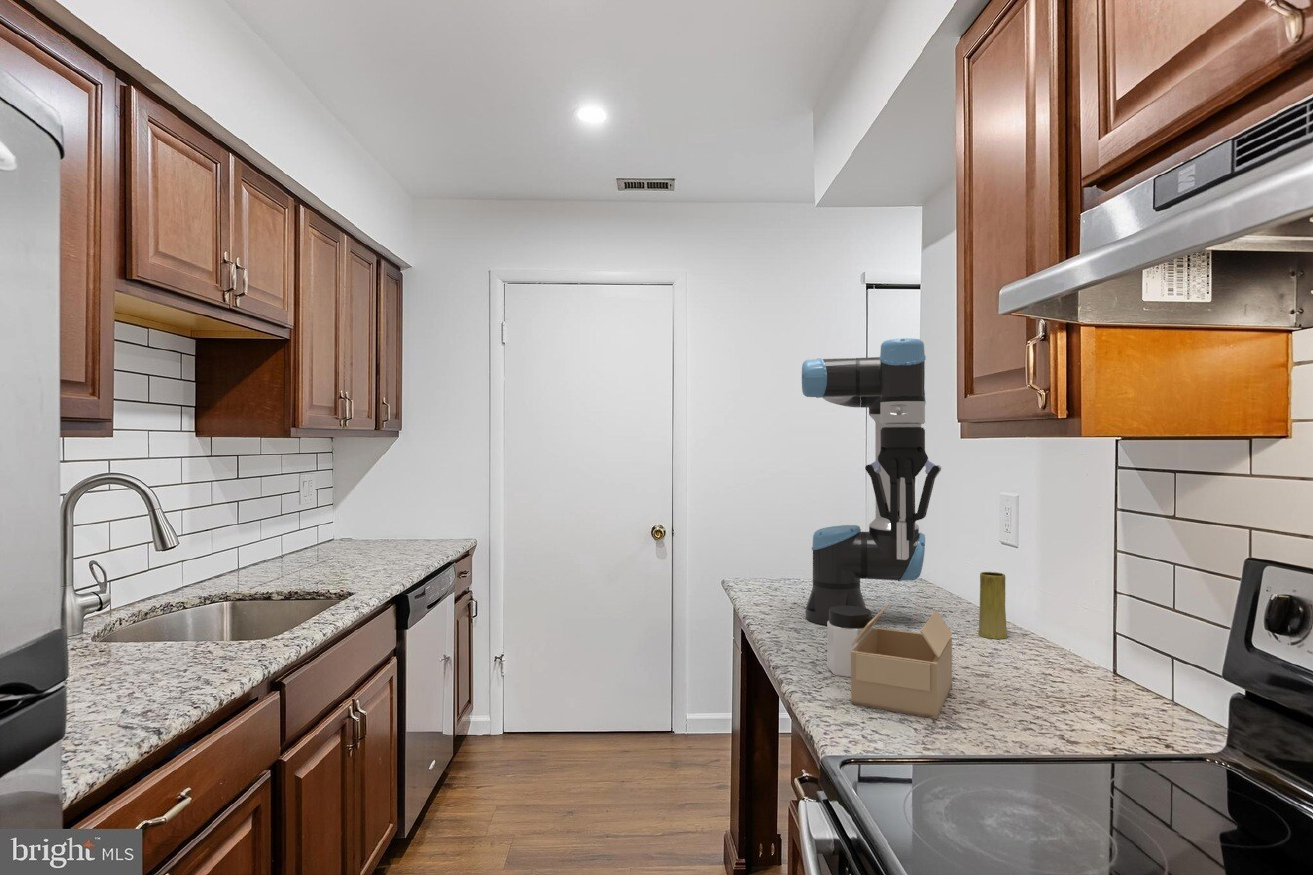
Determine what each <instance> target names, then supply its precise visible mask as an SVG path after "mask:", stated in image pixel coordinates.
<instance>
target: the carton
mask: <svg viewBox="0 0 1313 875" xmlns="http://www.w3.org/2000/svg"><path fill="white" fill-rule="evenodd" d="M952 687H953V637H952V636H951V637H950V639H949V641H948V643H947V644H946V646H945V648H944V650H943V652H942V653H941V655H940V657H939V658H937V656H936V655H935V653H934V652H933V650H932V649H931V647H930V646H929V644H928V643H927V641H926V640H925V638H924V637H923V635H922V634H921V632H914V631H906V630H898V629H890V628H882V627H874V629H873V630H872V631H871V632H870V633H869V634H868V635H867V636H866V637H865V638H864V639H863V640H862V641H861V642H860V643H859V644H858V645H857V646H856V647H855V648H854V649H853V650H852V651H851V677H850V704H851V705H856V706H861V707H867V708H872V709H878V710H883V711H889V712H894V713H900V714H905V715H912V716H917V717H921V718H923V717H924V718H930V719H934V720H935V719H936V720H938V718H939V715H940V713H941V711H942V709H943V707H944V705H945V702H946V700H947V698H948V695H949V693H950V691H951V689H952Z"/></svg>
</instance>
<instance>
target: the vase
mask: <svg viewBox="0 0 1313 875" xmlns="http://www.w3.org/2000/svg"><path fill="white" fill-rule="evenodd" d="M979 574H980V575H979V580H980V581H979V615H978V616H979V618H978V619H979V621H978V622H979V623H978V625H979V626H978V635H979V636H980V637H982V638H986V639H993V640H1004V639H1007V638H1008V632H1007V631H1008V629H1007V627H1008V626H1007V617H1006V615H1007V614H1006V574H1005V573H1002V572H996V571H983V572H980V573H979Z"/></svg>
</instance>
